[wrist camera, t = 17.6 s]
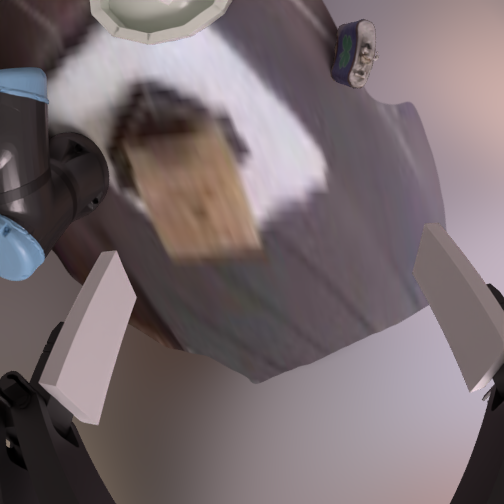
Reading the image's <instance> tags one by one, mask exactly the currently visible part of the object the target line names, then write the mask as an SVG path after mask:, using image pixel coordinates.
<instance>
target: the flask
mask: <svg viewBox="0 0 504 504" xmlns="http://www.w3.org/2000/svg"><path fill="white" fill-rule="evenodd" d="M336 36H337V42H336V44H335V47H334V48H335V50H334V51H335V55H336V56H335V58H333V59H334V64H333V66H332V69H331V77H332V78H333V81H336V82H338V83H340V84H344V85H347V86H349V87H352V88H362V87H363V86H364V85H365V84H366V82H367V79H368V77H369V74H370V71H371V69H372V66H373V61H377V59H378V58H379V56H378V55H376V56H375V47H376V41H375V40H376V33H375V27H374V25H373V23H372V22H370V21H368V20H365V19H361V20H359V21H357V22H351V23H348V24H343V25H341V26H339V28H338V31H337V35H336ZM376 53H378V52H376ZM374 56H375V58H374Z"/></svg>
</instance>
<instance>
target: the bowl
mask: <svg viewBox="0 0 504 504" xmlns="http://www.w3.org/2000/svg"><path fill="white" fill-rule="evenodd" d="M232 1H233V0H173V1H172V2H171V3H170V4H169V5H166V4H164V3H163V2H161V1H159V0H90V5H91V14H92V15H93V16H94V17H95V18H96V19H97V20H98V21H99V22H100V24H101V25H102V26H103V27H104V28H105V29H106V30H107V31H108V32H109V33H110V34H111V35H112V36H113V37H118V38H122V39H127V40H131V41H135V42H139V43H143V44H148V45H156V44H160V43H164V42H170V41H176V40H180V39H183V38H188V37H191V36H194V35H195V34H197V33H198V32H200V31H202V30H203V29H205V28H206V27H208V26H209V25H211V24H212V23H213V22H215V21H216V20H217V19H218V18H219V17H221V16H222V15H224V13H225V12H226V10H227V8H228V7H229V5H230V4H231V2H232Z"/></svg>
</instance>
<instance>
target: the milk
mask: <svg viewBox="0 0 504 504" xmlns="http://www.w3.org/2000/svg"><path fill="white" fill-rule="evenodd" d="M159 1H161V2H163V3H164V4H166V5H169V4H170V3H171V2H172V1H173V0H159Z"/></svg>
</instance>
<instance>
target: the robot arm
mask: <svg viewBox="0 0 504 504" xmlns="http://www.w3.org/2000/svg"><path fill="white" fill-rule="evenodd" d="M47 104H49V100H48V99H47V78H46V75H45V73H44V71H43V70H41V69H40V68H36V67H24V68H10V69H1V70H0V277H2V278H5V279H8V280H13V281H21V280H24V279H26V278H28V277H29V276H31V275H32V274H33V272H34V271H35V270H36V268H37V267H38V266H39V265H41V264H42V263H43V262H44V259H45V258H46V256H47V255H48V253H49V252H50V251H51V249H52V248H53V246H54V245H55V244H56V242H57V241H58V240H59V238H60V237H61V235H62V234H63V233H64V231H65V230H66V229H67V227H68V226H69V225H70V224H71V222H73V221H75V220H77V219H80V218H82V217H84V216H86V215H88V214H90V213H91V212H92V211H94V210H95V209H96V208H97V207H98V205H99V204H100V203H101V202H102V200H103V199H104V197H105V195H106V193H107V190H108V186H109V171H108V167H107V163H106V161H105V158H104V156H103V154H102V153H101V151H100V150H99V148H98V147H97V146H96V145H95V144H94V143H93V142H92V141H91V140H89V139H88V138H86V137H84V136H82V135H80V134H77V133H70V132H69V133H61V134H58V135H56V136H54V137H52V138H51V139H49V137H48V106H47ZM412 274H413V276H414V277H415V279H416V281H417V283H418V284H419V286H420V288H421V290H422V292H423V294H424V295H425V297H426V299H427V301H428V303H429V305H430V307H431V309H432V311H433V313H434V314H435V317H436V319H437V321H438V322H439V325H440V326H441V329H442V330H443V333H444V335H445V337H446V339H447V341H448V343H449V345H450V348H451V350H452V352H453V354H454V356H455V359H456V361H457V363H458V366H459V368H460V370H461V372H462V375H463V377H464V380H465V382H466V385H467V387H468V389H469V392H473V391H476V390H478V389H481V388H483V387H485V386H486V385H487V384H488V383H489V381H490V380H491V379H492V378H493V380H494V383H495V384H494V385H493V387H492V388H491V389H490V390H489V391H488V392H487V393H486V394H485V395H484V397H483V399H482V400H483V401H485V399H487V398H488V396H489V395H490V397H489V400H488V405H487V409H486V412H485V415H484V419H483V423H482V425H481V429H480V432H479V435H478V438H477V441H476V444H475V446H474V449H473V452H472V454H471V457H470V460H469V463H468V465H467V467H466V470H465V472H464V474H463V477H462V479H461V481H460V484H459V486H458V488H457V490H456V492H455V494H454V496H453V499H452V500H451V503H450V504H504V297H503V296H502V294H501V293H500V292H499V291H498V290H497V289H496V288H495V287H494V286H493V285H491V284H485V282H484V281H483V279H482V278H481V276H480V275H479V274H478V273H477V271H476V270H475V268H474V267H473V266H472V264H471V263H470V261H469V260H468V259H467V257H466V256H465V255H464V254H463V252H462V251H461V250H460V248H459V247H458V246H457V245H456V243H455V242H454V241H453V240H452V238H451V237H450V236H449V235H448V233H447V232H446V231H445V230H444V229H443V227H442V226H441V225H440V224H439V223H427V224H424V228H423V233H422V237H421V241H420V245H419V249H418V253H417V257H416V261H415V265H414V269H413V272H412ZM135 300H136V295H135V293H134V291H133V288H132V286H131V284H130V282H129V279H128V277H127V275H126V273H125V270H124V268H123V266H122V263H121V261H120V258H119V256H118V253H117V251H108V252H102V253H101V254H100V256H99V258H98V259H97V261H96V263H95V265H94V267H93V268H92V270H91V272H90V274H89V276H88V277H87V279H86V281H85V283H84V285H83V287H82V289H81V291H80V292H79V294H78V296H77V298H76V300H75V302H74V304H73V306H72V308H71V310H70V312H69V314H68V316H67V319H66V320H65V322H60V323H59V324H58V325H57V326H56V327H55V328H54V330H53V331H52V332H51V334H50V337H49V339H48V341H47V345H45V347H44V350H43V353H42V354H41V356H40V359H39V361H38V363H37V366H36V368H35V370H34V373H33V375H32V378H31V380H30V383H28V382H27V381H26V380H25V379H24V378H23V377H22V376H21V375H20V374H19V373H18V372H16V371H10V372H8V373H6V374H5V375H4V376H2V377H1V379H0V504H116V503H115V502H114V500H113V498H112V497H111V495H110V493H109V492H108V490H107V488H106V486H105V485H104V483H103V481H102V479H101V478H100V476H99V474H98V472H97V470H96V468H95V466H94V464H93V463H92V460H91V458H90V456H89V454H88V452H87V451H86V448H85V446H84V444H83V442H82V440H81V437H80V435H79V433H78V431H77V428H76V426H75V425H74V423H73V422H72V418H73V415H74V416H75V417H76V418H78V419H79V420H80V421H81V422H85V423H90V424H95V425H98V424H99V420H100V416H101V412H102V408H103V404H104V400H105V396H106V393H107V389H108V385H109V382H110V378H111V375H112V371H113V368H114V365H115V361H116V358H117V355H118V351H119V348H120V345H121V342H122V339H123V335H124V332H125V329H126V326H127V323H128V320H129V318H130V315H131V312H132V309H133V306H134V303H135ZM6 439H7V440H8V441H10V448H9V447H7V446H6Z"/></svg>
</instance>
